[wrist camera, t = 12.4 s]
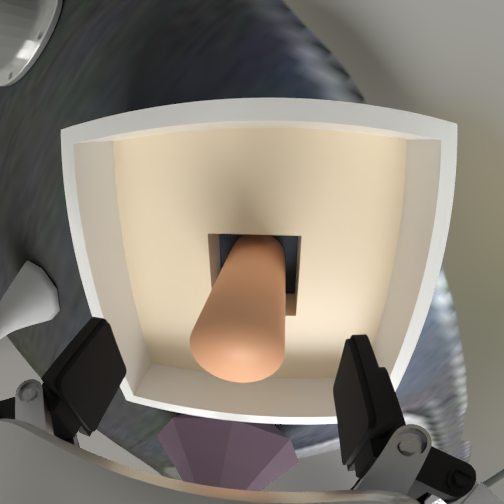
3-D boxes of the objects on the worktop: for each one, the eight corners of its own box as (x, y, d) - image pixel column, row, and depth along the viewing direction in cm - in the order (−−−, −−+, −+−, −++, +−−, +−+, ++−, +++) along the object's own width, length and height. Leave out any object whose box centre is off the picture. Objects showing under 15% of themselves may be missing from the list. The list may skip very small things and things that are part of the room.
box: (123, 129, 18) (60, 129, 11) (402, 128, 16) (457, 123, 9) (155, 349, 25) (126, 400, 18) (364, 360, 23) (380, 419, 16)
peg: (229, 231, 20) (183, 307, 10) (286, 232, 19) (287, 314, 10) (231, 281, 21) (195, 377, 12) (284, 283, 21) (281, 385, 11)
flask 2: (172, 439, 32) (133, 550, 14) (161, 367, 26) (83, 533, 7) (284, 459, 31) (274, 576, 13) (318, 395, 25) (322, 580, 7)
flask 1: (25, 248, 23) (-38, 287, 14) (65, 287, 24) (4, 341, 15) (20, 291, 25) (-30, 331, 16) (57, 326, 26) (10, 377, 17)
